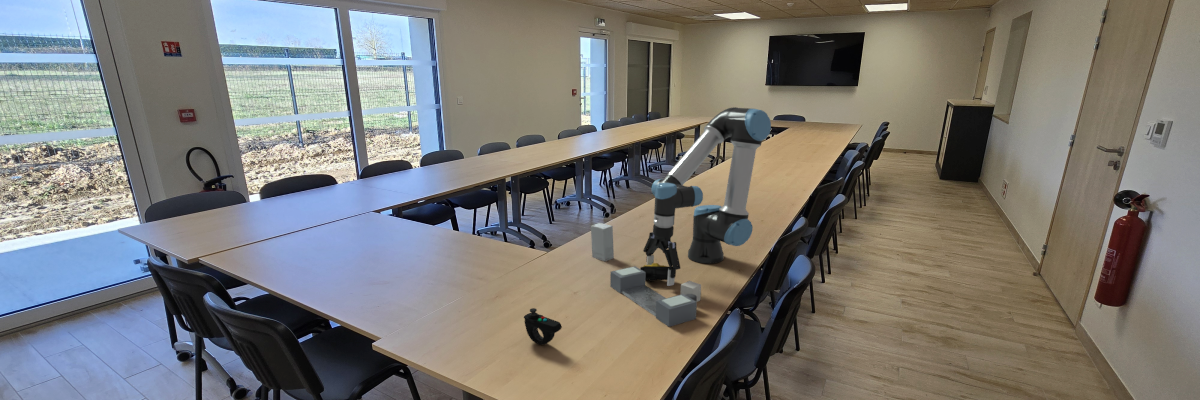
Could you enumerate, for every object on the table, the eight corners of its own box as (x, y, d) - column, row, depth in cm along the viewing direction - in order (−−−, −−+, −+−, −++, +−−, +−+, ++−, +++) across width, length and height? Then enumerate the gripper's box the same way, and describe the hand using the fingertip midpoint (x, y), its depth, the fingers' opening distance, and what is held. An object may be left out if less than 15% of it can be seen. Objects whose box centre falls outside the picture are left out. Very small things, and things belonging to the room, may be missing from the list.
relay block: (688, 296, 181) (689, 280, 180) (700, 300, 177) (701, 284, 176) (680, 300, 178) (680, 284, 176) (691, 304, 174) (692, 288, 173)
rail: (636, 282, 192) (636, 279, 192) (690, 316, 165) (690, 313, 165) (614, 288, 187) (614, 285, 187) (666, 323, 160) (666, 320, 160)
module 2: (682, 310, 170) (683, 293, 168) (695, 318, 164) (696, 301, 162) (655, 317, 164) (656, 300, 163) (668, 326, 158) (669, 308, 157)
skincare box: (614, 258, 218) (614, 225, 214) (604, 262, 214) (604, 228, 210) (600, 254, 224) (600, 221, 220) (590, 257, 219) (590, 224, 216)
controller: (531, 334, 154) (530, 304, 151) (564, 346, 147) (563, 315, 145) (522, 340, 150) (521, 310, 148) (554, 353, 144) (554, 321, 141)
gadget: (675, 276, 187) (675, 262, 190) (639, 275, 189) (640, 262, 192) (676, 283, 192) (676, 269, 195) (641, 282, 195) (642, 269, 198)
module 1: (634, 280, 194) (635, 265, 193) (645, 287, 188) (645, 271, 187) (610, 286, 189) (610, 270, 187) (620, 293, 183) (620, 277, 182)
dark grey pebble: (690, 306, 173) (691, 293, 172) (698, 311, 169) (699, 297, 168) (681, 309, 171) (682, 295, 170) (689, 313, 167) (689, 299, 166)
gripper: (636, 216, 195) (633, 267, 200) (676, 236, 173) (671, 293, 179) (652, 214, 198) (649, 264, 204) (693, 233, 177) (688, 289, 183)
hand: (659, 278), depth 191 cm, fingers open, 13 cm apart
